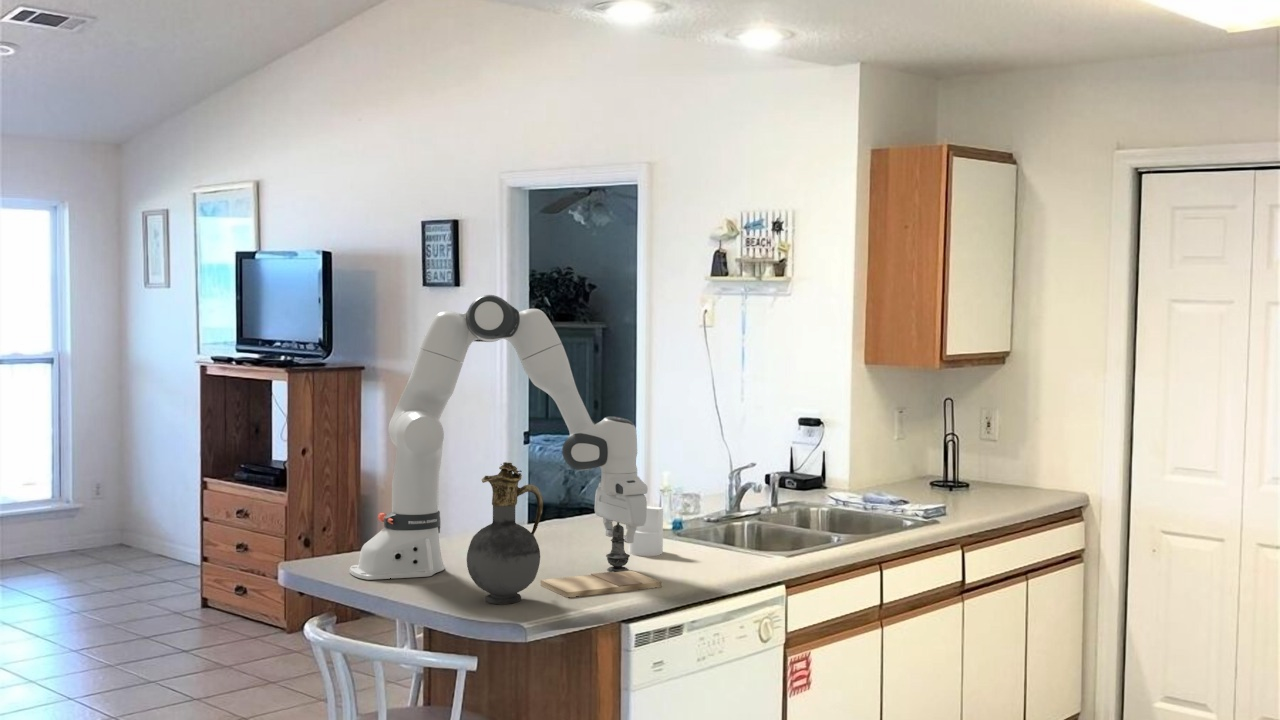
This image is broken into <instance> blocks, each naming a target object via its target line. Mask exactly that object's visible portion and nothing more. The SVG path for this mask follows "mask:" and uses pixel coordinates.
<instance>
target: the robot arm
mask: <svg viewBox="0 0 1280 720" xmlns="http://www.w3.org/2000/svg"><path fill="white" fill-rule="evenodd" d="M502 339H503V340H506V341H508V342H509V343H511V346H513V348H514V350H515V352H516V355H517V356H518V358H519V361H520V363H521V366H522V368H523V369H524V371H525V374H526V375H527V377H528V378H529V380H530V382H531V383H532V384H533V385H534V386H535V387H536V388H538V389H540V390H541V391H543V392H544V393H546V394H548V396H550V397H551V398H552V399H553V401H554V403H555V404H556V406H557V408H558V410H559V413H560V414H561V416H562V420H563V421H564V422H565V426H567V430H568V431H569V432H568V433H569V436H568V437H567V438H566V439H565V440H564V442H563V445H562V449H561V450H562V451H561V453H562V457H563V460H564V461H565V463H566V464H567V466H569V467H570V468H572V469H573V470H578V471H588V470H591V469H595V468H600V471H601V473H600V475H601V476H600V477H601V480H600V481H599V483H598V487H596V490H595V495H594V496H595V497H594V513H595V515H596V516H597V517H600V518H602V522H603V526H604V529H605V536H606V537H609V538H612V529H613V527H614V525H613V523H614V522H616V523H617V522H619V524H621V525H625V529H626V530H627V531H626V533H625V534H624V539H625V540H624V543H626V544H629V543H633V542H634V534H635V531H636V527H639V526H644V524H645V522H646V516H647V506H648V505H647V504H648V503H647V497H646V495H647V494H648V485H647V484H646V483H645V481H643V480H642V479H641V478H640V476H639V475H638V467H637V462H636V461H637V457H638V456H637V455H638V438H637V431H636V426H635V424H634V423H633V422H632V421H631V420H630V419H627V418H625V417H624V418H623V417H620V416H606V417H603V419H601V421H599V422H596V423H595V422H594V420H593V418H592V417H591V415H590V414H589V411H588V408H587V407H586V404H585V403H584V401H583V399H582V397H581V394H580V392H579V390H578V387H577V385H576V382H575V378H574V376H573V371H572V369H571V365H570V360H569V358H568V356H567V352H566V350H565V347H564V345H563V343H562V340H561V339H560V336H559V334H558V332H557V330H556V329H555V327H554V326H553V324H552V321H551V320H550V319H549V317H548V316H547V314H546V313H545V312H544V310H543V311H542V310H541V309H539V308H527V309H523V310H521V311H519V310H518V309H517V308H515V307H514V306H513V305H511V304H510V303H509V302H508V301H506V300H505V299H503V298H502V297H500V296H498V295H494V294H484V295H481V296H479V297H477V298H476V299H474V300H473V301H472V302H471V303H470V305H469V307H468V309H467V310H466V311H465V312H463V313H460V312H459V313H458V312H455V311H452V310H451V311H450V310H445V311H444V310H443V311H440V312H438V313H437V314H436V315H435V316H434V317H433V319H432V320H431V322H430V324H429V326H428V328H427V330H426V331H425V335H424V336H423V338H422V340H421V343H420V346H419V349H418V352H417V356H416V359H415V361H414V364H413V367H412V370H411V373H410V376H409V378H408V381H407V383H406V385H405V388H404V390H403V391H402V393H401V396H400V397H399V400H398V403H397V404H396V407H395V408H394V409H395V410H394V411H393V414H392V416H391V418H390V421H389V424H388V436H389V438H390V441H391V442H392V444H393V445H394V446H395V458H394V459H395V460H394V467H393V468H394V469H393V474H392V479H391V511H390V512H389V513H387V514H386V513H384V512H380V513H379V514H378V515H377V520H378V521H380V522H381V523H383V528H382V529H381V530H380V531H379V532H377V533H376V534H375V535H374V536H373V537H372V538H370V539H369V540H368V541H367V542H365V543H363V545H362V547H361V548H360V553H359V559H358V564H353V565H351V566H350V567H349V574H350V575H352V576H353V577H356V578H358V579H362V580H367V581H368V580H369V581H370V580H371V581H372V580H387V579H388V580H389V579H390V578H391V579H405V578H406V579H408V578H423V577H426V578H427V577H432V576H433V575H435V574H436V573H439V572H442V571H444V570H445V569H446V567H445V564H444V560H443V555H442V550H441V542H440V541H441V540H440V534H441V524H442V523H441V511H440V510H439V480H440V479H439V477H440V469H441V463H442V462H441V461H442V456H443V455H442V454H443V445H444V440H445V439H444V436H445V435H444V434H445V432H444V428H443V425H442V423H441V421H440V418H441V416H442V413H443V411H444V409H445V408H446V406H447V404H448V402H449V400H450V398H451V397H452V396H453V395H454V391H455V388H456V385H457V382H458V379H459V375H460V374H461V370H462V367H463V364H464V361H465V358H466V355H467V352H468V350H469V348H470V346H471V345H472V343H474V342H476V343H477V342H486V343H493V342H497V341H500V340H502ZM391 579H390V580H391Z"/></svg>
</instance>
